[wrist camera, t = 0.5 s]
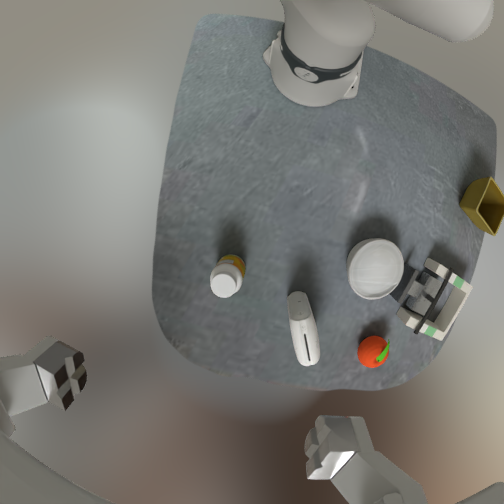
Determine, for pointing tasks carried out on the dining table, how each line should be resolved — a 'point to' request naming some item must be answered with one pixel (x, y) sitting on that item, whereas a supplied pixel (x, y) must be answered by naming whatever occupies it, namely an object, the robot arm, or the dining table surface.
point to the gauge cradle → (447, 312)
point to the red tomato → (373, 351)
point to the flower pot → (484, 204)
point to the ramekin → (374, 268)
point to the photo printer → (303, 328)
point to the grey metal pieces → (419, 292)
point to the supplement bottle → (227, 275)
